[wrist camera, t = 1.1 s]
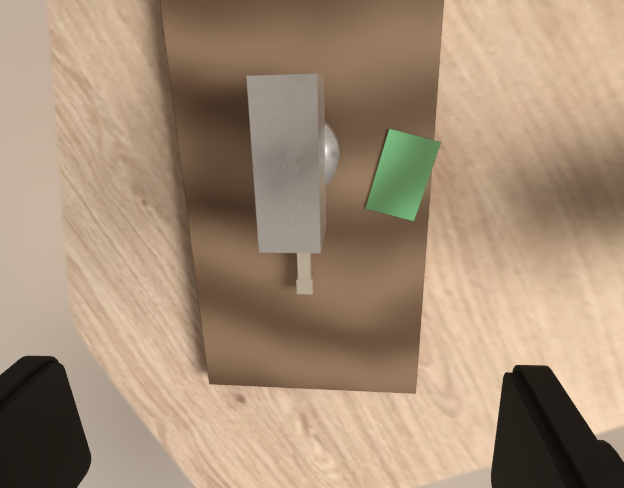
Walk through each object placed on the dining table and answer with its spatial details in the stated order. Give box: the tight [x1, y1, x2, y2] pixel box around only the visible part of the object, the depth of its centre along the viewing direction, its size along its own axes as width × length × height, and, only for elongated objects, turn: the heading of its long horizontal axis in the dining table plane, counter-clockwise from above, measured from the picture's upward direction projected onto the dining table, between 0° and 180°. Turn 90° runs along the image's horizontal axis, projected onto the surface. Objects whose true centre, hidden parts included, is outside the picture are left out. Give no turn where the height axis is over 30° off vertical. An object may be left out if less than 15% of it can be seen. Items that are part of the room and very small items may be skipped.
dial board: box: [160, 0, 444, 394], centre depth 27 cm, size 26×15×2 cm, turn 1°
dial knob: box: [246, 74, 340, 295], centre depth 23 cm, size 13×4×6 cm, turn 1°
